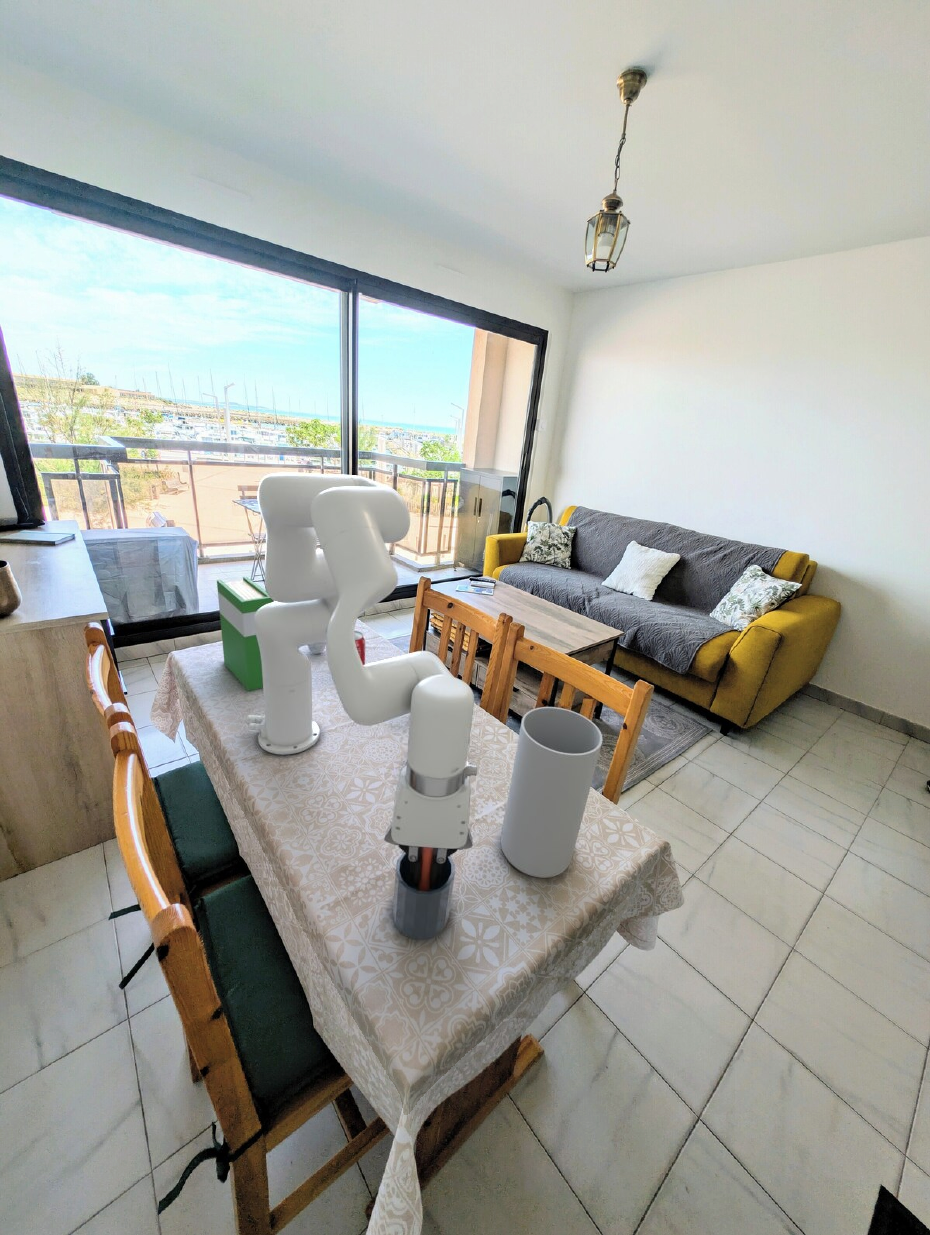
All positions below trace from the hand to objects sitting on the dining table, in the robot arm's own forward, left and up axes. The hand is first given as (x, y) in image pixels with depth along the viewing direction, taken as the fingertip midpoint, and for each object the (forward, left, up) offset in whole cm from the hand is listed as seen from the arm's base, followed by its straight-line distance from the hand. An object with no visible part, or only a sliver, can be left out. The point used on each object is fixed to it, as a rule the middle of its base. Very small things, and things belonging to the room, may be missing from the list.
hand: (425, 874), depth 66 cm
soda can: (-25, +68, -8) cm, 73 cm away
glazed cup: (0, 0, -8) cm, 8 cm away
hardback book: (-51, +64, -8) cm, 82 cm away
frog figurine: (-38, +79, -8) cm, 88 cm away
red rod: (0, 0, -7) cm, 7 cm away
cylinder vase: (+19, +13, -8) cm, 24 cm away
